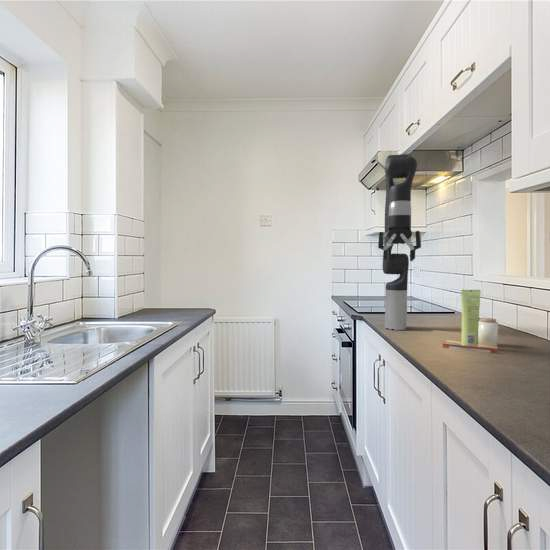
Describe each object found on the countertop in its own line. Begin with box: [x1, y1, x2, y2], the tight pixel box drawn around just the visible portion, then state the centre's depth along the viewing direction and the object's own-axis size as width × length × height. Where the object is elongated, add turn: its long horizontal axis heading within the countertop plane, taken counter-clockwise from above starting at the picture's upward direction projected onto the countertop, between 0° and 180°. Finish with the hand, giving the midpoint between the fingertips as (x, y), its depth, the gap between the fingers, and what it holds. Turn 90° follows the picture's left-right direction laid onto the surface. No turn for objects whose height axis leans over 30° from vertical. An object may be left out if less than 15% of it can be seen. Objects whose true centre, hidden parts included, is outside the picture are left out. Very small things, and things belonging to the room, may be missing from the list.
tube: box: [460, 289, 482, 347], centre depth 129 cm, size 6×5×20 cm
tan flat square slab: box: [442, 339, 499, 354], centre depth 131 cm, size 15×16×2 cm
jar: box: [478, 317, 499, 347], centre depth 133 cm, size 6×6×9 cm
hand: (398, 261), depth 136 cm, fingers open, 8 cm apart
